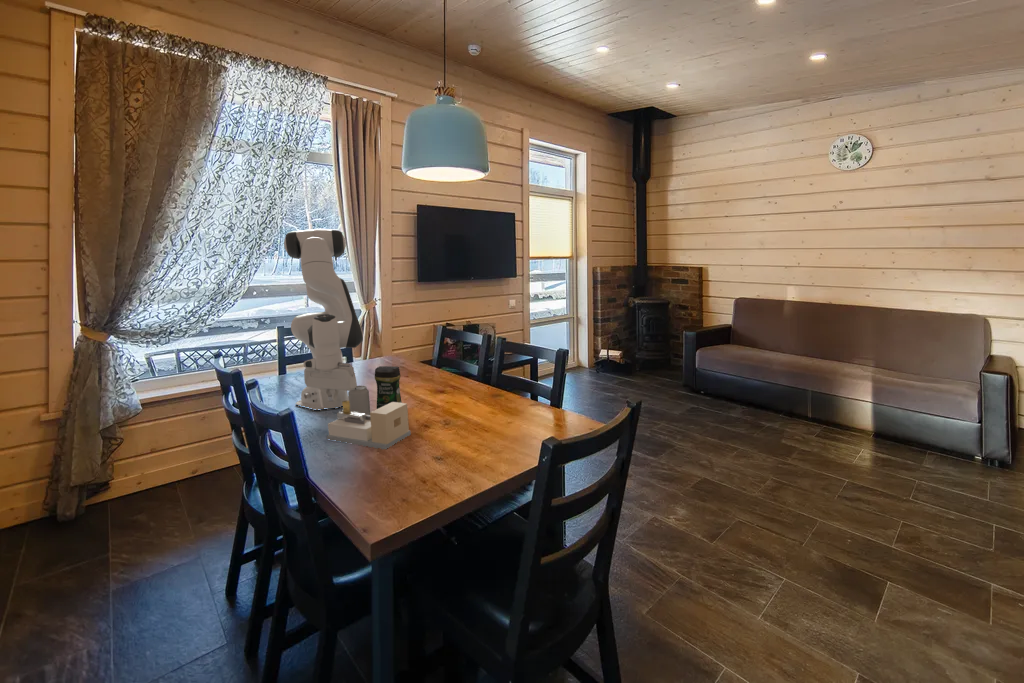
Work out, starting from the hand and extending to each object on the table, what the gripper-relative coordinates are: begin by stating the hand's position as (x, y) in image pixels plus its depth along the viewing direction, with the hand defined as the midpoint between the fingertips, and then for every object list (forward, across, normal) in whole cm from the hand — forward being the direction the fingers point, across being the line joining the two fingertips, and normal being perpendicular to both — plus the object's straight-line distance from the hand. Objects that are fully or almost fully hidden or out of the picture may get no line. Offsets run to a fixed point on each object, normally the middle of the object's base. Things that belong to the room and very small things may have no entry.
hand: (332, 400), depth 170 cm
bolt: (+6, -8, 0) cm, 10 cm away
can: (+12, +3, -16) cm, 20 cm away
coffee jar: (+12, -4, -26) cm, 28 cm away
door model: (+12, -14, 0) cm, 19 cm away
